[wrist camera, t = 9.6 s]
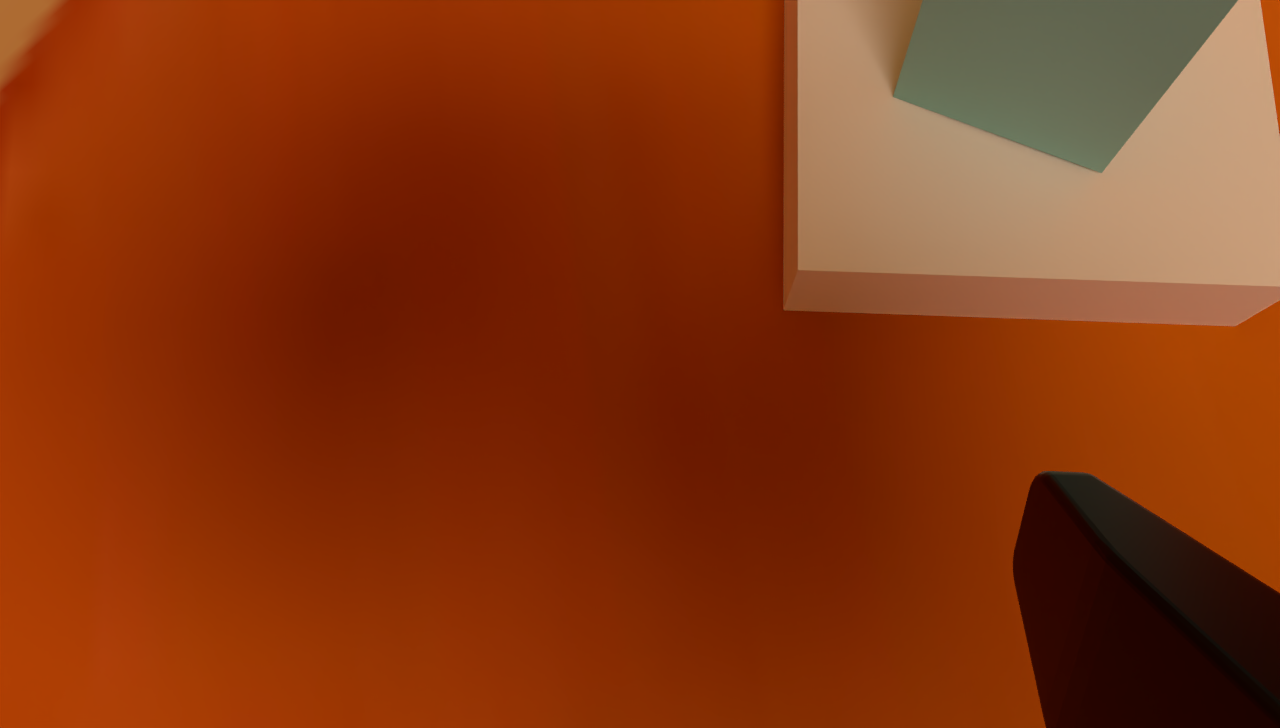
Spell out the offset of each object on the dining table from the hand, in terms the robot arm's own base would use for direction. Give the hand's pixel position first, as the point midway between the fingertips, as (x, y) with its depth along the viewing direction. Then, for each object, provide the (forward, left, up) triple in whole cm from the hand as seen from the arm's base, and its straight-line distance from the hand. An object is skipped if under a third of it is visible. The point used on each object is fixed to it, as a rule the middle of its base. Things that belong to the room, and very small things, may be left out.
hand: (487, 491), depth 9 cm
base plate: (+12, -9, -14) cm, 20 cm away
